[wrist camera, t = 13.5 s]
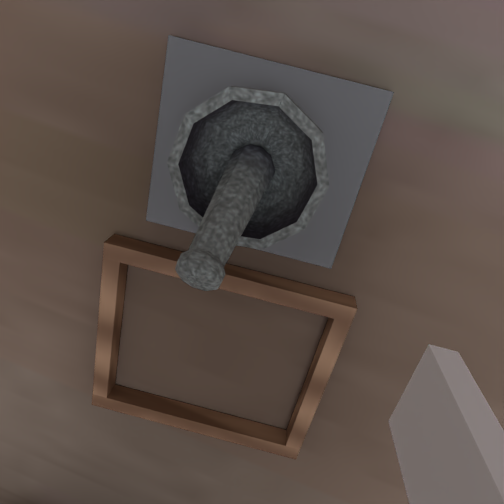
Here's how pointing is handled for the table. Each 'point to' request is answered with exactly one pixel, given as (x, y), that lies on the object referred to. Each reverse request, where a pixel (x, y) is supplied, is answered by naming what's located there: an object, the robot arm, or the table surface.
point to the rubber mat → (311, 103)
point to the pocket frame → (236, 280)
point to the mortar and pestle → (244, 177)
